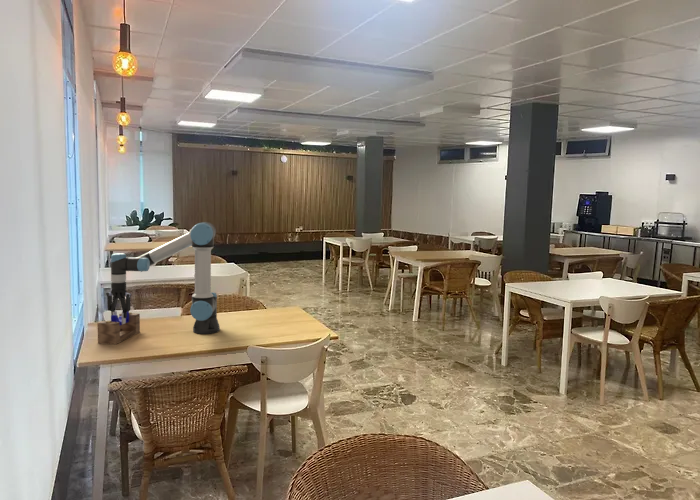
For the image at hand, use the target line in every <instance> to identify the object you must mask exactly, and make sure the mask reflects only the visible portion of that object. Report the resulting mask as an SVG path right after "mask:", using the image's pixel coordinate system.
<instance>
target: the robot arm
mask: <svg viewBox="0 0 700 500" xmlns="http://www.w3.org/2000/svg"><path fill="white" fill-rule="evenodd" d="M216 234H217V230H216V227H215V225H214V224H213V223H211V222H210V221H202V222H198V223H196V224H195V225H194V226H192V228H191V229H189V232H187V233H185V234H183V235H181V236H179V237H176V238H175V239H173V240H171V241H169V242H166V243H165V244H163V245H160V246H158V247H155V248H154V249H152V250H150V251H147V252H145V253H143V254H141V255H139V256H137V257H128V256H127V254H126V253H123V252H122V253H119V252H117V253H112V254H111V257H110V281H111V283H110V284H111V286H110V289H111V290H110V291H109V292H106V297H107V301H106V302H107V310H108V311H110V312H111V313H110V317H111V316H112V315H118V314H117V312H118V311H117V309H116V308H117V303H118V300H119V301H120V305H121V309H122V311H123V312H121V313H122V324H125V323H126V318H127V312H128V311H129V312H130V311H131V296H132V293H129V292H127V272H140V273H142V272H149V270H150V267H151V266H153V265H154V264H156V263H158V262H160V261H161V262H162V261H163V260H165V259H168V258H170V257H172V256H174V255H176V254H177V253H180V252H181V251H184V250H186V249H189V248H190V247H191V248H192V249H193V250H194V293H192V295H191V306H190V309H189V310H190V311H189V313H190V315H191V317H192V318H193V319H195V321H194V323H193V326H192V332H193V333H195V334H197V335H198V334H200V335H209V334H215V333H216V334H217V333H218V332H220V329H221V328H220V326H221V325H220V323H219V321H218V315H217V314H218V313H217V312H218V307H217V303H218V302H217V301H218V297H217V293H216V292H214V291H213V292H212V291H211V289H212V287H211V285H212V284H211V280H212V278H211V277H212V276H211V275H212V271H211V270H212V263H211V262H212V250H213V249H214V247H215V245H214V244H215V238H216Z"/></svg>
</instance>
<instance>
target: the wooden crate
mask: <svg viewBox="0 0 700 500" xmlns="http://www.w3.org/2000/svg"><path fill="white" fill-rule="evenodd" d="M120 316H122V312H121V313H119V315H118V317H120ZM140 322H141V317H140V313H136V312H135V313H134V312H132V311H131V312H130V311H129V322H127V323H125V324H122V325H120V322H111V320H107V321H106V320H105V321H104V320H101V321H99V322H97V344H103V345H104V344H105V345H106V344H107V345H117V344H119V343H122V342H124V341H125V340H128V339H129V338H132V337H134V336H135V335H137V334H140V332H141V327H140V326H141V325H140V324H141V323H140Z"/></svg>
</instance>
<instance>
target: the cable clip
mask: <svg viewBox="0 0 700 500" xmlns="http://www.w3.org/2000/svg"><path fill="white" fill-rule="evenodd" d="M122 312H123V310H122ZM122 312H121V313H122ZM129 312H130V311H128V312H127V318H126V323H127V322H129ZM110 321H111V322H120V325H122V316H120V317H119V315H118V314H117V315H112V316H111V315H110Z"/></svg>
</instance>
